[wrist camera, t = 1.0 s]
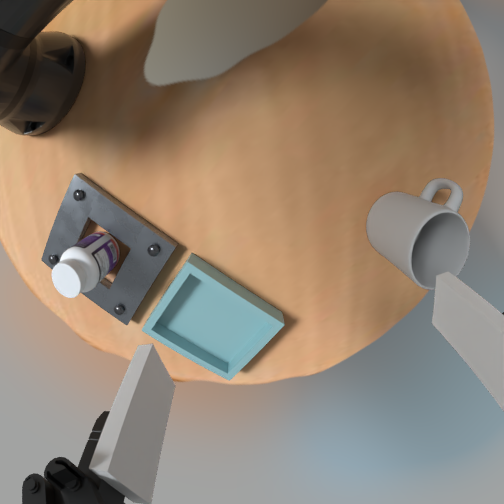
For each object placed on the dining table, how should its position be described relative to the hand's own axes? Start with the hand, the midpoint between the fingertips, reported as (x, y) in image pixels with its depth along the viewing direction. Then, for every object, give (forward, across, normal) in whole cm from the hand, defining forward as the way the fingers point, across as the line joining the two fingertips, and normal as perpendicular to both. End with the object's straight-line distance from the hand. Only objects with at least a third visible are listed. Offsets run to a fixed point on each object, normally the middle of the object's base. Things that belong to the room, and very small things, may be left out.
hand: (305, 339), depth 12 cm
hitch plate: (+23, -21, +1) cm, 32 cm away
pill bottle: (+23, -21, +1) cm, 32 cm away
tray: (+23, -10, -12) cm, 27 cm away
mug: (+23, +17, -3) cm, 29 cm away
